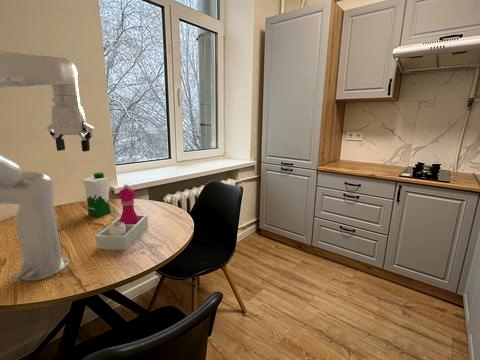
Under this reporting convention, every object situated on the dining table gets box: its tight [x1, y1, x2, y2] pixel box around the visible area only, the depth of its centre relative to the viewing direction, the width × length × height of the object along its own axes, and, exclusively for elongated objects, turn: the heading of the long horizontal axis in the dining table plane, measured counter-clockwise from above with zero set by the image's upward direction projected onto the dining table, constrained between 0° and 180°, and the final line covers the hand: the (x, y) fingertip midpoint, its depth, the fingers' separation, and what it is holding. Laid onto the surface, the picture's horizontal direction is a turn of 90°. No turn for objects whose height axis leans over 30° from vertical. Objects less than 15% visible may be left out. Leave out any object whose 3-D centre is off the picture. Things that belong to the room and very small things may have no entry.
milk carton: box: [82, 172, 112, 218], centre depth 125 cm, size 9×9×20 cm
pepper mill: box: [118, 184, 139, 225], centre depth 105 cm, size 7×7×20 cm
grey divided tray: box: [95, 214, 149, 251], centre depth 102 cm, size 20×11×6 cm, turn 178°
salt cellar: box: [108, 221, 126, 236], centre depth 97 cm, size 6×6×8 cm
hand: (73, 150), depth 94 cm, fingers open, 9 cm apart
